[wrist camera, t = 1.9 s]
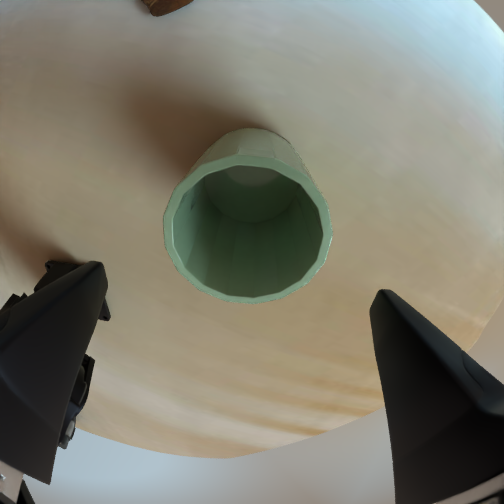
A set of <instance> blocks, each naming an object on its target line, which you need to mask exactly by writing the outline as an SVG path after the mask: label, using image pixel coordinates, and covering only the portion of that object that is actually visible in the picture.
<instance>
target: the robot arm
mask: <svg viewBox="0 0 504 504" xmlns="http://www.w3.org/2000/svg"><path fill="white" fill-rule="evenodd" d="M45 267H46V270H47V273H46V274H45V275H44V276H43V277H42V279H41V280H40V281H39V282H38V284H37V285H36V286H35V288H34V293H33V294H32V295H30V296H27V295H26V294H25V293H23V295H22V296H21V297H20V296H17V295H15V294H12V296H11V297H10V298H9V299H8V301H7V302H6V303H5V305H4V306H3V307H2V309H1V310H0V504H35V502H34V501H33V498H32V496H31V494H30V492H29V490H28V488H27V486H26V484H25V481H24V480H23V479H22V478H23V474H26V475H28V476H31V477H32V478H35V479H37V480H39V481H41V482H43V483H46V484H48V485H50V482H51V477H52V471H53V465H54V460H55V455H56V450H57V446H58V444H60V443H61V442H62V441H63V439H64V436H65V433H66V431H67V428H68V426H69V424H70V422H71V420H72V419H73V418H74V417H75V416H77V415H78V414H79V412H80V411H81V410H82V408H83V407H84V405H85V403H86V400H87V397H88V393H89V387H90V382H91V377H92V372H93V367H94V363H95V360H94V359H93V358H92V357H89V356H88V355H87V354H85V352H86V350H87V347H88V344H89V342H90V339H91V337H92V334H93V332H94V329H95V326H96V323H97V320H98V319H99V320H104V321H109V319H110V318H111V315H110V312H109V309H108V306H107V303H106V300H105V295H106V292H107V288H108V281H107V277H106V273H105V269H104V265H103V263H101V262H98V261H90V262H88V263H86V264H84V265H82V266H81V265H74V264H68V263H62V262H56V261H50V260H48V261H47V262H46V263H45ZM370 321H371V328H372V335H373V343H374V351H375V356H376V361H377V366H378V370H379V375H380V380H381V385H382V391H383V396H384V402H385V408H386V414H387V419H388V427H389V434H390V442H391V450H392V459H393V471H394V485H395V502H396V504H433V503H437V504H504V385H503V384H502V383H501V382H500V381H499V380H497V379H496V378H495V377H494V376H492V375H491V374H490V373H489V372H488V371H486V370H485V369H484V368H483V367H482V366H480V365H479V364H478V363H477V362H476V361H475V360H473V359H472V358H471V357H470V356H469V355H468V354H467V353H466V352H465V351H463V350H462V349H461V348H460V347H459V346H458V345H457V344H455V343H454V342H453V341H452V340H451V339H450V338H449V337H447V336H446V335H445V334H444V333H443V332H442V331H440V330H439V329H438V328H437V327H436V326H435V325H433V324H432V323H431V322H430V321H429V320H427V319H426V318H425V317H424V316H423V315H421V314H420V313H419V312H418V311H417V310H415V309H414V308H413V307H412V306H410V305H409V304H408V303H407V302H406V301H404V300H403V299H402V298H401V297H399V296H398V295H397V294H396V293H394V292H393V291H392V290H387V289H381V290H379V291H378V293H377V295H376V297H375V299H374V301H373V303H372V305H371V307H370Z"/></svg>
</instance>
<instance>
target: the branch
mask: <svg viewBox="0 0 504 504" xmlns="http://www.w3.org/2000/svg"><path fill="white" fill-rule="evenodd" d="M142 1H143V2H144V3H145V4H146V5H147V6H148V8H149V10H150V13H151V14H152V15H153V16H156V17H157V16H162V15H165V14H168V13H170V12H173V11H175V10H177V9H179V8H181V7H183V6H185V5H187V4H189V3H190V2H192V1H193V0H142Z"/></svg>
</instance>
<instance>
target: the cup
mask: <svg viewBox="0 0 504 504" xmlns="http://www.w3.org/2000/svg"><path fill="white" fill-rule="evenodd" d="M163 227H164V243H165V248H166V250H167V251H168V253H169V255H170V257H171V259H172V261H173V263H174V265H175V267H176V269H177V271H178V272H179V273H180V274H181V275H183V276H184V277H185V278H186V279H187V280H188V281H189V282H190V283H192V284H193V285H194V286H195V287H196V288H197V289H198V290H200V291H202V292H205V293H207V294H209V295H212V296H214V297H216V298H219V299H221V300H224V301H228V302H238V303H248V304H257V303H262V302H267V301H272V300H276V299H281V298H284V297H285V296H287V295H289V294H291V293H292V292H294V291H296V290H298V289H299V288H301V287H303V286H304V285H306V284H307V283H308V282H309V281H310V280H311V279H312V277H313V276H314V275H315V274H316V273H317V271H318V270H319V269H320V268H321V266H322V265H323V264H324V262H325V261H326V257H327V254H328V250H329V247H330V243H331V240H332V236H333V231H332V225H331V219H330V213H329V208H328V204H327V202H326V200H325V198H324V196H323V195H322V193H321V191H320V190H319V188H318V186H317V184H316V183H315V181H314V179H313V178H312V176H311V174H310V173H309V171H308V169H307V168H306V166H305V164H304V163H303V161H302V160H301V158H300V157H299V155H298V154H297V153H296V151H295V150H294V148H293V147H292V146H291V145H290V144H289V142H287V141H286V140H285V139H284V138H282V137H281V136H279V135H277V134H275V133H273V132H271V131H268V130H265V129H259V128H243V129H238V130H235V131H232V132H230V133H228V134H225V135H224V136H222V137H221V138H220V139H218V140H217V141H216V142H215V143H214V144H213V145H212V146H210V147H209V148H208V149H207V150H206V152H205V153H204V154H203V155H202V156H201V157H200V158H199V160H198V161H197V162H196V163H195V164H194V165H193V167H192V168H191V169H190V170H189V171H188V173H187V174H186V175H185V176H184V177H183V179H182V180H181V181H180V182H179V184H178V185H177V186H176V188H175V189H174V191H173V193H172V196H171V198H170V200H169V203H168V205H167V208H166V210H165V213H164V215H163Z"/></svg>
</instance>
